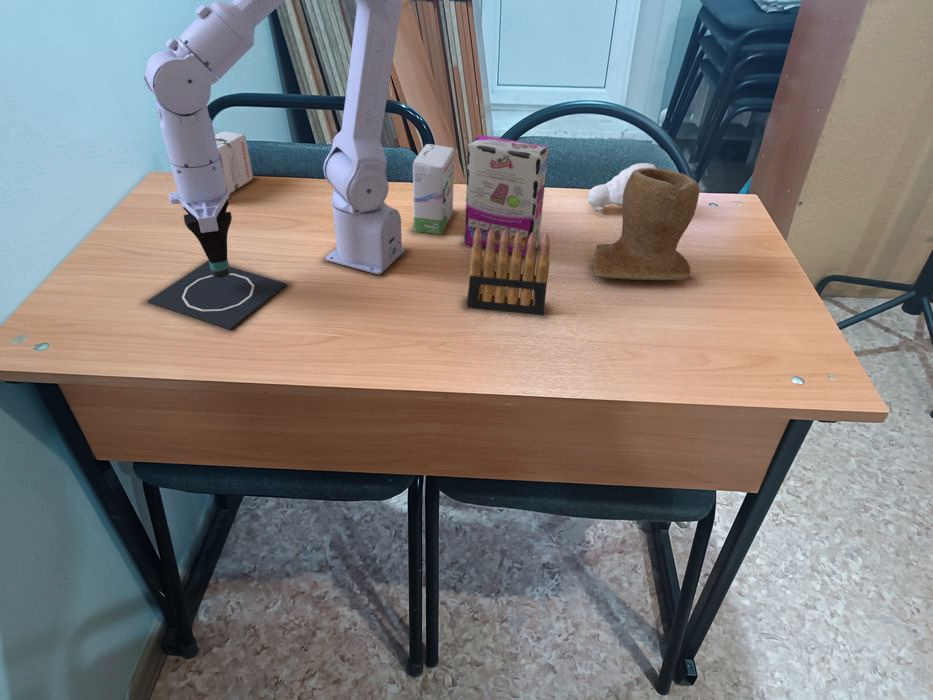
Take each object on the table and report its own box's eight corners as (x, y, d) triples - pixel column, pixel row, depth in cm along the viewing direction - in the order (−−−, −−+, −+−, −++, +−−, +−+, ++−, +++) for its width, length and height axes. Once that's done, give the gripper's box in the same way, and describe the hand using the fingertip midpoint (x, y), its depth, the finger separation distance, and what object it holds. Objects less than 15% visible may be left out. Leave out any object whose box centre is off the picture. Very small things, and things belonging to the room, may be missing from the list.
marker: (234, 271, 90) (220, 212, 84) (222, 279, 88) (208, 219, 83) (220, 267, 91) (206, 208, 85) (208, 275, 89) (193, 215, 83)
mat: (287, 285, 92) (286, 283, 92) (230, 330, 84) (230, 328, 84) (209, 261, 97) (208, 259, 96) (147, 302, 88) (147, 300, 88)
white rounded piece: (665, 171, 107) (593, 176, 107) (659, 218, 112) (590, 222, 112) (656, 156, 112) (586, 161, 112) (650, 202, 117) (583, 206, 117)
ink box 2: (442, 235, 105) (443, 166, 98) (412, 231, 106) (411, 162, 99) (453, 212, 112) (455, 145, 105) (426, 209, 113) (425, 142, 105)
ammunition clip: (466, 307, 90) (469, 229, 82) (468, 299, 91) (471, 222, 84) (544, 315, 89) (554, 237, 81) (544, 307, 90) (554, 230, 83)
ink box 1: (189, 200, 112) (231, 176, 121) (214, 205, 111) (254, 180, 120) (178, 151, 107) (222, 129, 116) (203, 156, 105) (246, 134, 114)
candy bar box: (539, 245, 104) (551, 145, 94) (529, 260, 100) (541, 157, 90) (474, 231, 107) (479, 132, 97) (463, 244, 103) (466, 143, 93)
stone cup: (675, 250, 104) (698, 160, 95) (695, 290, 95) (723, 195, 86) (581, 247, 104) (595, 156, 95) (592, 287, 95) (609, 191, 85)
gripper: (158, 140, 83) (184, 234, 92) (160, 186, 73) (188, 288, 81) (216, 135, 85) (235, 227, 94) (226, 179, 75) (246, 279, 83)
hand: (217, 255), depth 88 cm, fingers closed on marker, 2 cm apart
